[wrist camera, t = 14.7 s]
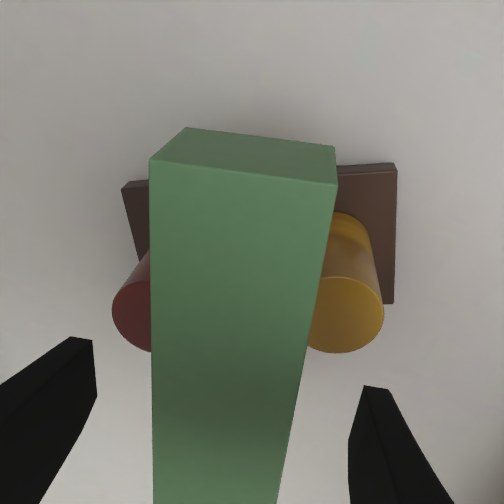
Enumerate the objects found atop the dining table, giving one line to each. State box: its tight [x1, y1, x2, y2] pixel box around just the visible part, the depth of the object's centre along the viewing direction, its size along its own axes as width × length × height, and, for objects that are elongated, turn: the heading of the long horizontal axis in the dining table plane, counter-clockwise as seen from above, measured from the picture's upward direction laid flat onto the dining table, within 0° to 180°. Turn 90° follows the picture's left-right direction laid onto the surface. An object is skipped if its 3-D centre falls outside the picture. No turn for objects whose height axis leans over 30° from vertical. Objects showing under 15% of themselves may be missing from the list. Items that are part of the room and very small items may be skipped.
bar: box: [149, 127, 338, 504], centre depth 14 cm, size 12×4×3 cm, turn 174°
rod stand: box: [112, 163, 397, 353], centre depth 18 cm, size 11×6×6 cm, turn 96°
